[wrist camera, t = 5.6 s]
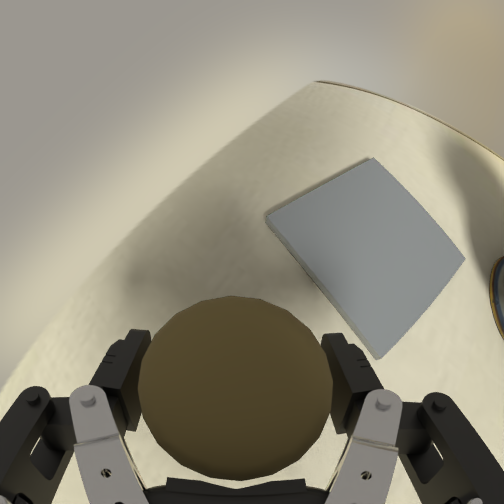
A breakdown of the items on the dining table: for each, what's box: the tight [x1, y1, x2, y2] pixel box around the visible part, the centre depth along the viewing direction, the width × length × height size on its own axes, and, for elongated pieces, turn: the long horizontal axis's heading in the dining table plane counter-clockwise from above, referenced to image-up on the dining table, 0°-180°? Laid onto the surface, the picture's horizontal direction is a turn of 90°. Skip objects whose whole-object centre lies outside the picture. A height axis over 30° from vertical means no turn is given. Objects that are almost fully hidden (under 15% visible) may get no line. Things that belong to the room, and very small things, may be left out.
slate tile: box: [265, 157, 465, 360], centre depth 20 cm, size 12×12×1 cm
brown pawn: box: [138, 296, 333, 481], centre depth 11 cm, size 6×6×11 cm
